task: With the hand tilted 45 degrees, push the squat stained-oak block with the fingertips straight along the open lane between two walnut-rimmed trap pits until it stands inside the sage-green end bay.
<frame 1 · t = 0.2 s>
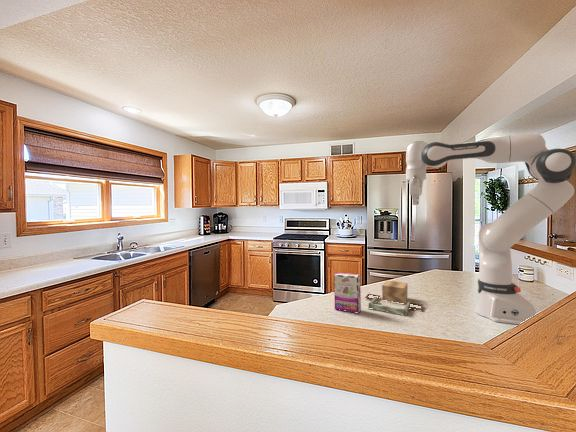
hand: (415, 204, 131), 47 cm above the table, tool pointing down, fingers open, 8 cm apart
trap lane: (390, 306, 128), on the table
candy bar box: (347, 310, 125), on the table
block: (395, 299, 136), on the table
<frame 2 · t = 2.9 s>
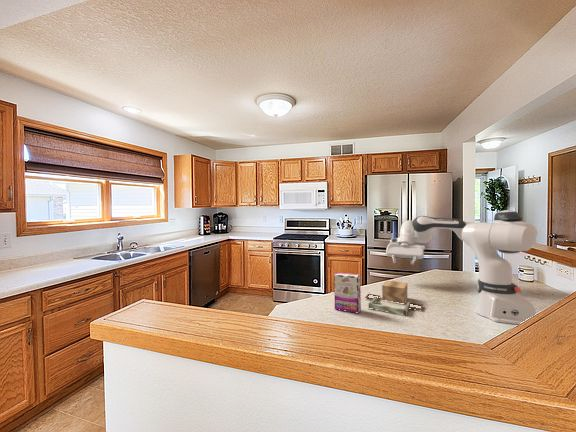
hand: (403, 263, 154), 14 cm above the table, tool tilted 45°, fingers open, 8 cm apart
nothing on the table moved.
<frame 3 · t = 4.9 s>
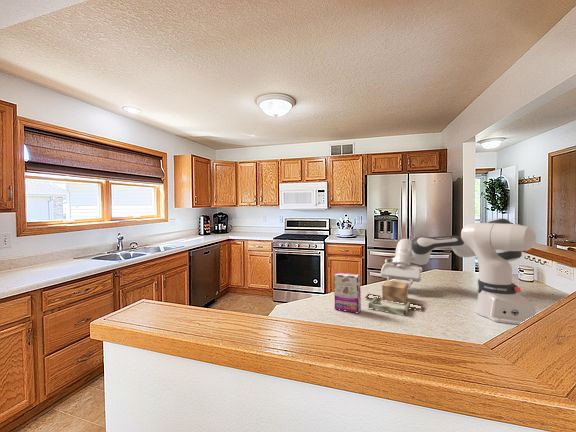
hand: (398, 286, 144), 4 cm above the table, tool tilted 45°, fingers open, 8 cm apart
nothing on the table moved.
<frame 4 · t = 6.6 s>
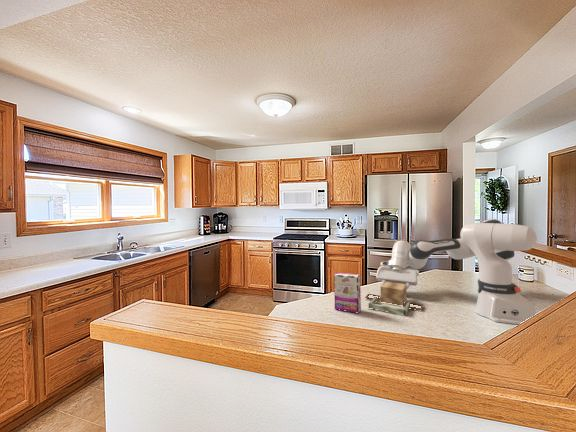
hand: (394, 290, 139), 4 cm above the table, tool tilted 45°, fingers open, 8 cm apart
block: (393, 301, 134), on the table, touching gripper
everything else where it was.
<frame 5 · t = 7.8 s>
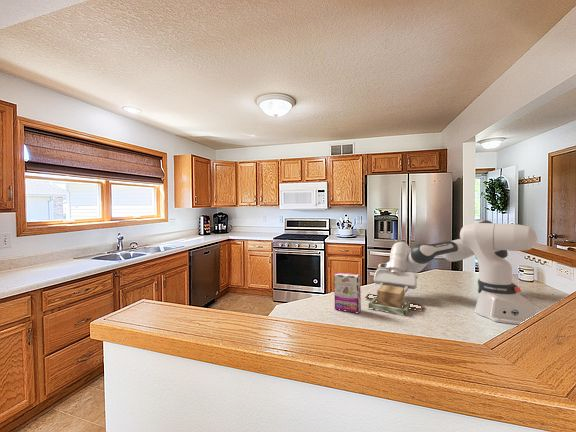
hand: (392, 293, 133), 4 cm above the table, tool tilted 45°
block: (391, 305, 128), on the table, touching gripper
everything else where it was.
when the fingers open (4 cm above the table, at t = 8.4 s): block stays where it is, on the table.
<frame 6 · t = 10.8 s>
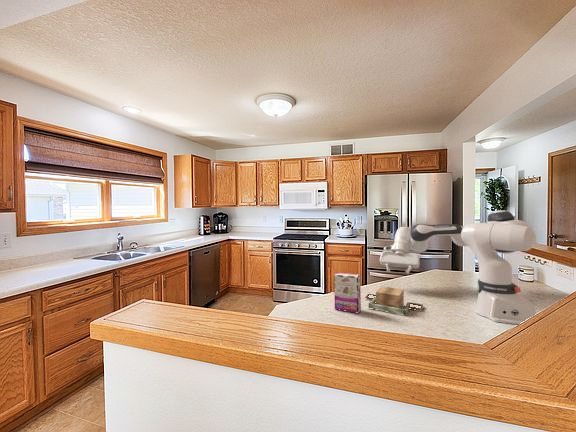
hand: (397, 272, 145), 11 cm above the table, tool tilted 45°, fingers open, 8 cm apart
block: (390, 307, 126), on the table
everything else where it was.
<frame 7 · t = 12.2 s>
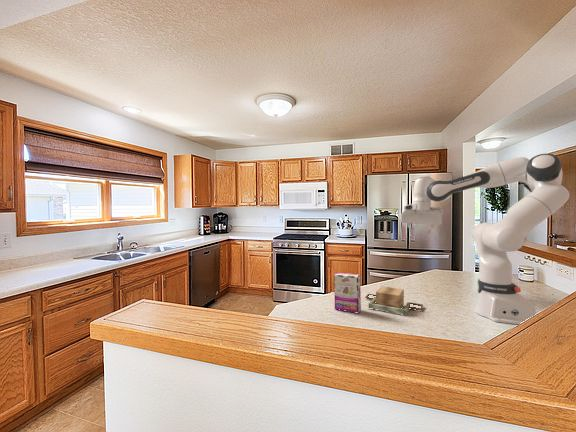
hand: (420, 232, 148), 32 cm above the table, tool pointing down, fingers open, 8 cm apart
nothing on the table moved.
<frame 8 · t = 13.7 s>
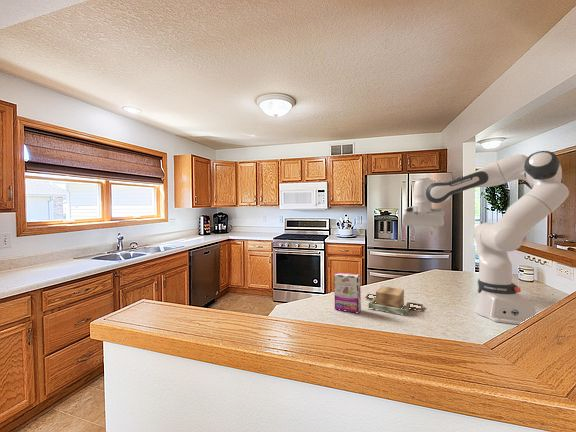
hand: (422, 234, 148), 31 cm above the table, tool pointing down, fingers open, 8 cm apart
nothing on the table moved.
at the end: block inside the target area (0.2 cm from its centre), on the table; block tilted 0°; block moved 11.6 cm from its start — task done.
